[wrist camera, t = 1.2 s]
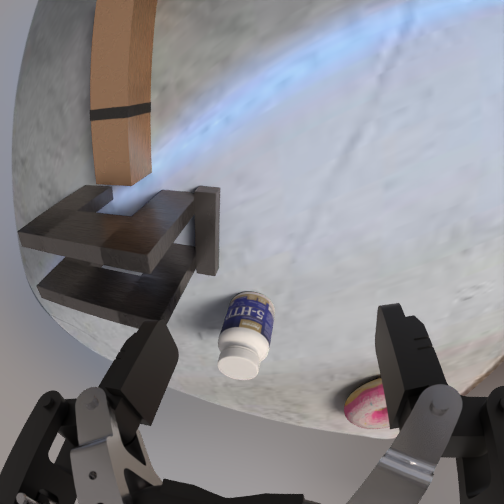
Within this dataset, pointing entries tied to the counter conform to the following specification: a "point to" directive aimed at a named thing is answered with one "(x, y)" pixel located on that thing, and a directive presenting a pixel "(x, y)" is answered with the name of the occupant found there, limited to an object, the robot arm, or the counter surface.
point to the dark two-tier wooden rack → (125, 252)
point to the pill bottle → (245, 335)
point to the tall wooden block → (121, 90)
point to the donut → (368, 406)
